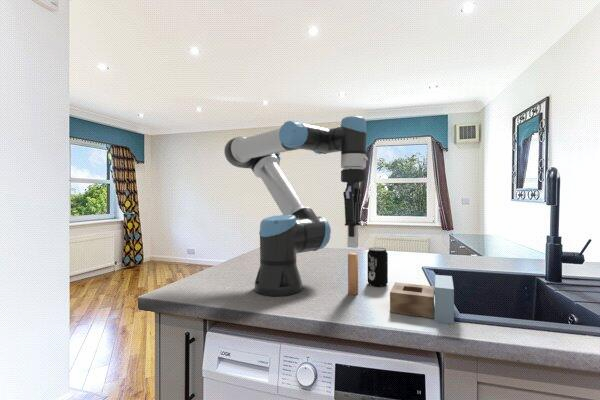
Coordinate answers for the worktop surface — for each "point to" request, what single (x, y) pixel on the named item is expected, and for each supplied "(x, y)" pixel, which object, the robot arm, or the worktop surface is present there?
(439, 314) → the wall
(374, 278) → the beverage can
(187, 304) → the worktop surface
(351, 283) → the dowel
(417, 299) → the socket block
